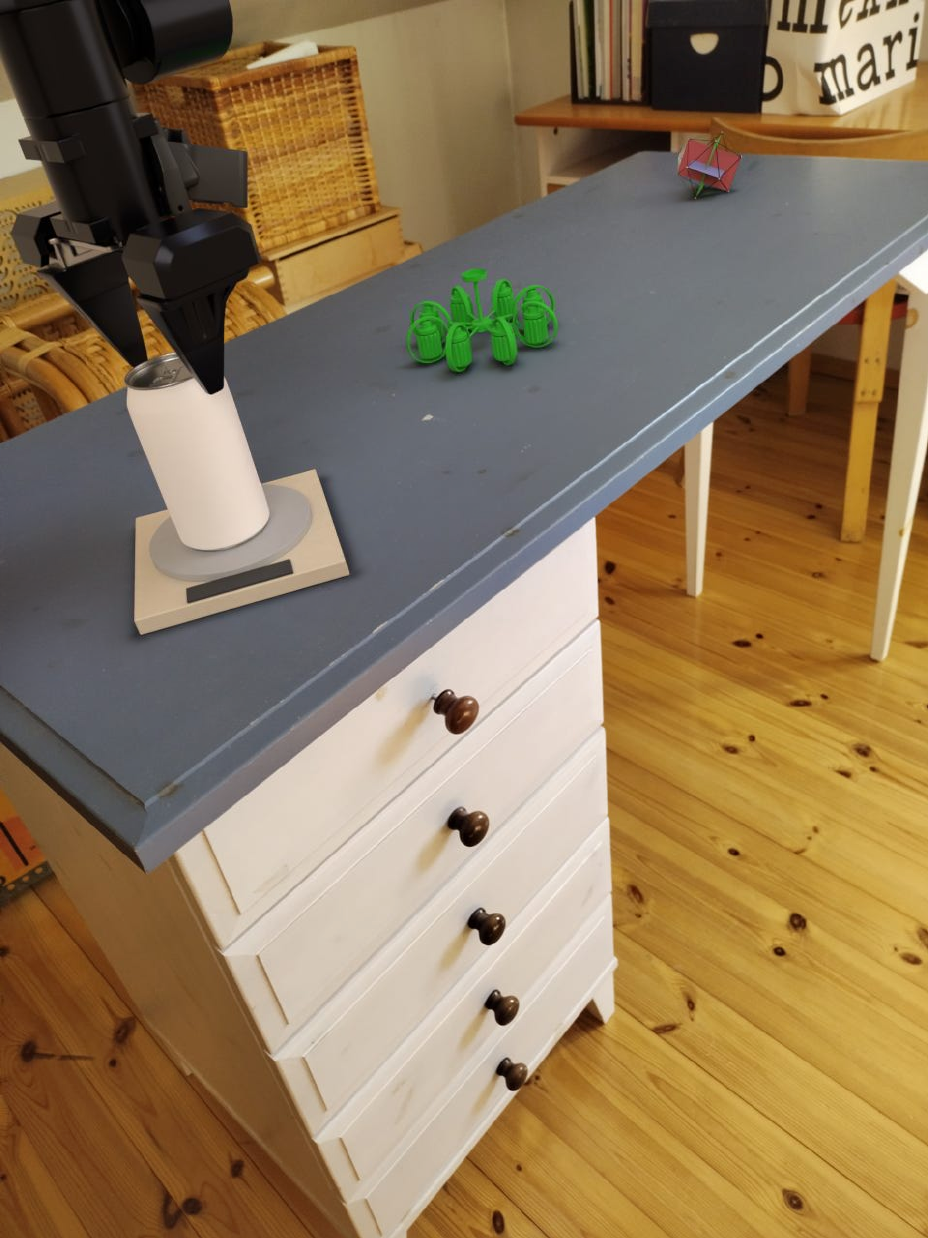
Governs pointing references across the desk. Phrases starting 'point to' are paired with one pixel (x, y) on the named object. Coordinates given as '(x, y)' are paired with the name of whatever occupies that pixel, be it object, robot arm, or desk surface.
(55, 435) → the desk surface
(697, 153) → the geometric puzzle
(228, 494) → the can
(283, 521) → the scale
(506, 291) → the chandelier
